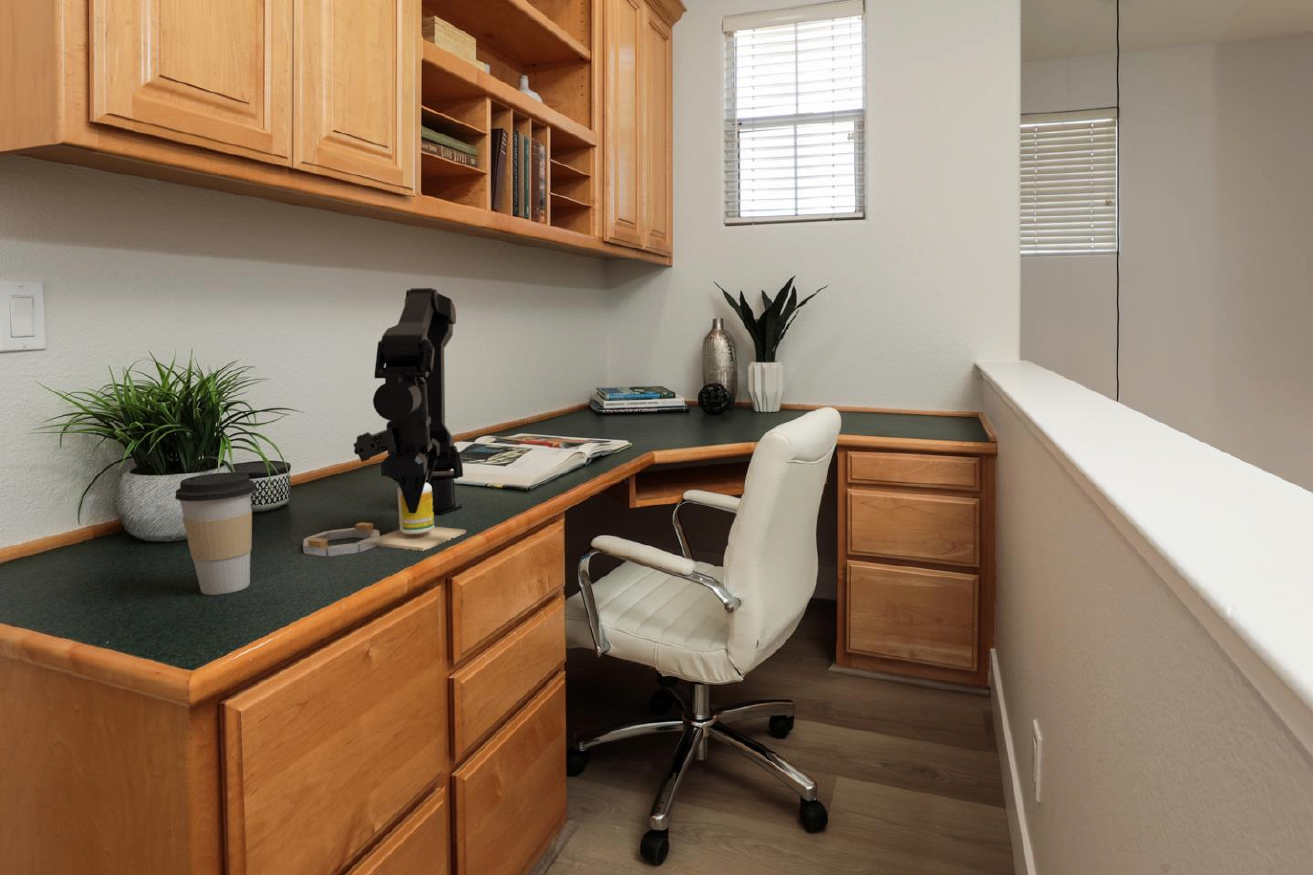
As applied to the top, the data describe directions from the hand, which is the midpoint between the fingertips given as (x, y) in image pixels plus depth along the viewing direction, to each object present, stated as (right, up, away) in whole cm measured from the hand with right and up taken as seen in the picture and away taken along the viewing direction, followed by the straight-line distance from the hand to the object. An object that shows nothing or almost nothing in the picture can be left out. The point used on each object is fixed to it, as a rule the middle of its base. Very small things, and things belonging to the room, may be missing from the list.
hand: (415, 508), depth 128 cm
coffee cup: (-19, -9, -22) cm, 30 cm away
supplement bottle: (0, -4, +1) cm, 4 cm away
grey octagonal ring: (-11, -6, -2) cm, 12 cm away
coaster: (0, -5, +1) cm, 5 cm away
